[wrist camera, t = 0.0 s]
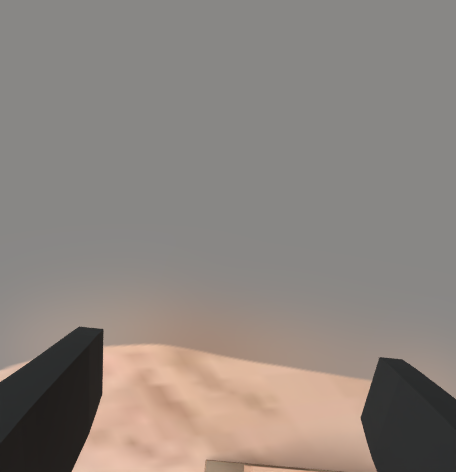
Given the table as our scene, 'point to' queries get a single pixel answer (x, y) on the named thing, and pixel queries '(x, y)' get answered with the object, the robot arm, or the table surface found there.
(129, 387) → the table surface
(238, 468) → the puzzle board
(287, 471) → the slide cover
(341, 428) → the table surface
